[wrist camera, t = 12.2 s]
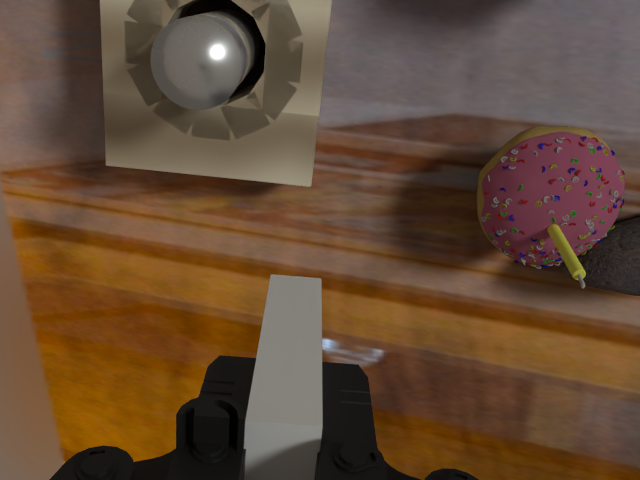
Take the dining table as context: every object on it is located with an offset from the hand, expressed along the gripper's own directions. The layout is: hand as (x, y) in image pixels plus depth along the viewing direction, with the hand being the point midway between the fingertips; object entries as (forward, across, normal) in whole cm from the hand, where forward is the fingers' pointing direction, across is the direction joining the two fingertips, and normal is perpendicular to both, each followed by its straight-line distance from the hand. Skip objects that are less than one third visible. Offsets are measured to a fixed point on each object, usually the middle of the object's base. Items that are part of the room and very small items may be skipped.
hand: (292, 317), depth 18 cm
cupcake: (+22, -14, 0) cm, 26 cm away
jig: (+22, +6, -6) cm, 23 cm away
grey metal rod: (+22, +5, -6) cm, 23 cm away
